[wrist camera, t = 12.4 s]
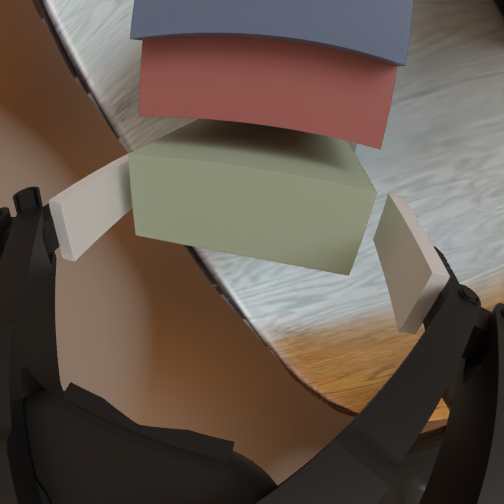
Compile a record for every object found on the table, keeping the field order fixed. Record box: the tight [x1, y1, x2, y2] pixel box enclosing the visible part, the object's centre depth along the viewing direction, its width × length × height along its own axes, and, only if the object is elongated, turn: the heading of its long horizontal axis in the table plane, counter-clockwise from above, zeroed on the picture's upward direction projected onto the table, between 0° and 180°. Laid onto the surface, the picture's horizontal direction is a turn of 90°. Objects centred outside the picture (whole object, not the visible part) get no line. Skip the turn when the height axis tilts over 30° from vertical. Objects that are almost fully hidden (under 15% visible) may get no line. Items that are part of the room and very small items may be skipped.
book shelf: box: [130, 0, 413, 153], centre depth 14 cm, size 23×13×14 cm, turn 174°
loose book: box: [129, 119, 377, 275], centre depth 17 cm, size 4×10×13 cm, turn 84°
